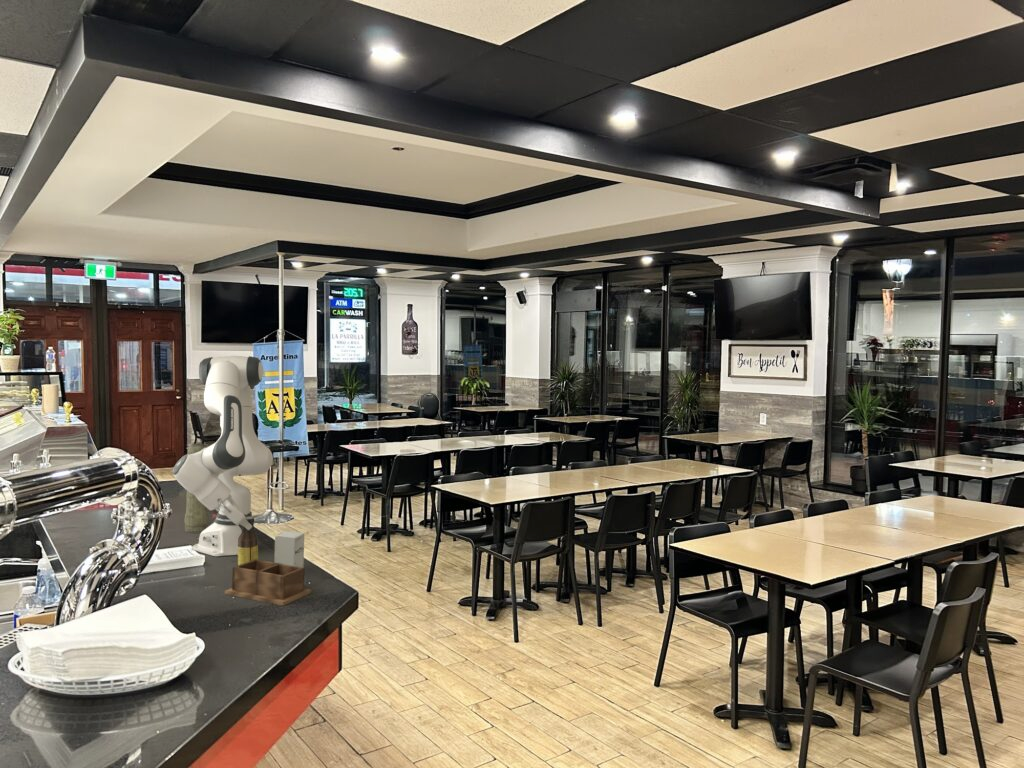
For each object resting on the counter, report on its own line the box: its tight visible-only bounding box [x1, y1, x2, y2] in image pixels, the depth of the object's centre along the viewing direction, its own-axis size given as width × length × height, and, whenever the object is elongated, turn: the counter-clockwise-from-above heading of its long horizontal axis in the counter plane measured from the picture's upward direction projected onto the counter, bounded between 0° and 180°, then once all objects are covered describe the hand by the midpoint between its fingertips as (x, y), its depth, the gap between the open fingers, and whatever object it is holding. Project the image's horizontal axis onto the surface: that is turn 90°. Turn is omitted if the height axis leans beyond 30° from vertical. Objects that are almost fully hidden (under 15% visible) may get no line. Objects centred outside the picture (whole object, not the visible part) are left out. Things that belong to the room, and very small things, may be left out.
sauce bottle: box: [237, 516, 259, 566], centre depth 240 cm, size 6×6×20 cm
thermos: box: [183, 442, 210, 534], centre depth 295 cm, size 9×12×35 cm
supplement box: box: [273, 531, 305, 568], centre depth 248 cm, size 7×7×13 cm
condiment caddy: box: [224, 559, 312, 607], centre depth 226 cm, size 22×13×8 cm, turn 68°
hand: (248, 524), depth 239 cm, fingers open, 8 cm apart
